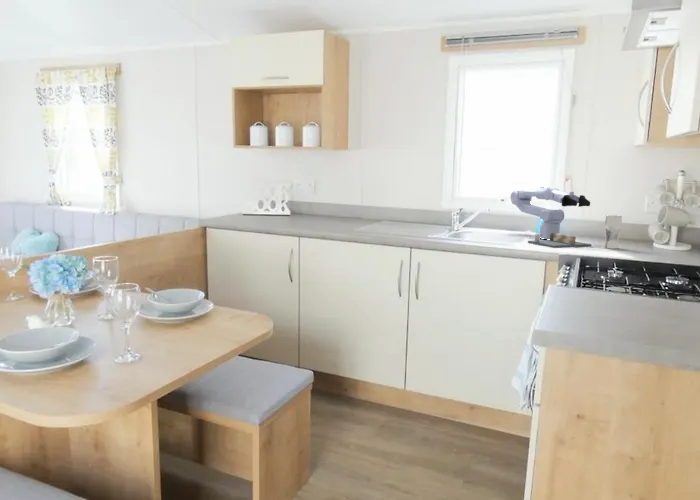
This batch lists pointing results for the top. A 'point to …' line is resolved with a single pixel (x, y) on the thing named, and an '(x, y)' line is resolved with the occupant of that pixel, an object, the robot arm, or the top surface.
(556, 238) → the gate
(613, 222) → the beer glass
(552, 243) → the gate board
